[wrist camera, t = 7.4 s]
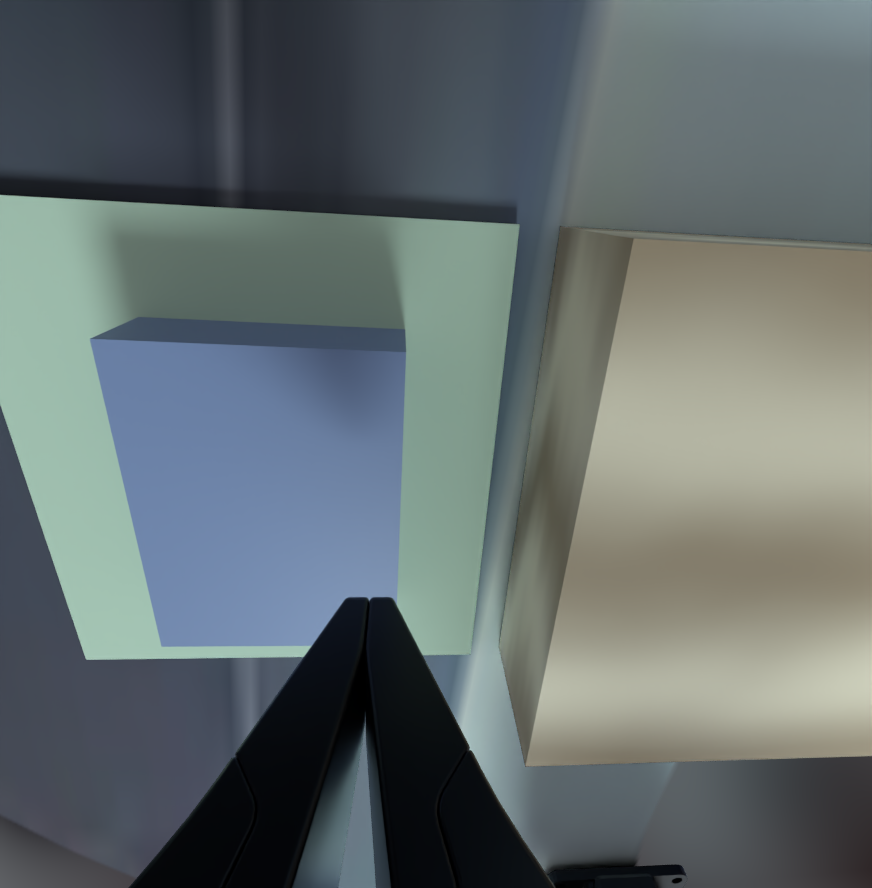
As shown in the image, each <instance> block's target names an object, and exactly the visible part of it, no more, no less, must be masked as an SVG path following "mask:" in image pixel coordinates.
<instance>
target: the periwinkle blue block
mask: <svg viewBox="0 0 872 888" xmlns="http://www.w3.org/2000/svg"><path fill="white" fill-rule="evenodd" d="M90 343H91V347H92V351H93V355H94V360H95V364H96V368H97V373H98V377H99V381H100V385H101V390H102V394H103V398H104V403H105V407H106V411H107V415H108V420H109V424H110V428H111V433H112V437H113V441H114V445H115V450H116V454H117V458H118V463H119V467H120V471H121V475H122V480H123V484H124V488H125V493H126V497H127V501H128V505H129V510H130V514H131V518H132V523H133V527H134V531H135V535H136V540H137V544H138V548H139V553H140V557H141V561H142V565H143V570H144V574H145V578H146V582H147V587H148V591H149V595H150V600H151V604H152V608H153V612H154V617H155V621H156V625H157V630H158V634H159V638H160V642H161V647H204V646H312V645H313V643H314V642H315V640H316V639H317V638H318V636H319V635H320V633H321V632H322V631H323V629H324V628H325V626H326V625H327V624H328V622H329V621H330V619H331V618H332V616H333V615H334V614H335V612H336V611H337V609H338V608H339V607H340V605H341V604H342V602H343V601H344V600H345V599H346V598H348V597H367V598H368V599H369V601H370V599H371V598H372V597H391V598H393V599H394V601H395V603H396V605H397V588H398V561H399V534H400V506H401V479H402V452H403V424H404V397H405V370H406V337H405V329H388V328H366V327H344V326H323V325H301V324H280V323H258V322H236V321H215V320H193V319H172V318H150V317H137V318H135V319H133V320H130V321H128V322H126V323H124V324H122V325H119V326H117V327H115V328H113V329H110V330H108V331H106V332H104V333H101V334H99V335H97V336H95V337H93V338H90Z"/></svg>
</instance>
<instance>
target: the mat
mask: <svg viewBox="0 0 872 888" xmlns="http://www.w3.org/2000/svg"><path fill="white" fill-rule="evenodd" d="M519 226H520V225H519V224H508V223H490V222H473V221H455V220H437V219H420V218H402V217H384V216H367V215H349V214H332V213H314V212H296V211H279V210H261V209H243V208H226V207H208V206H190V205H173V204H155V203H137V202H120V201H102V200H84V199H67V198H49V197H32V196H14V195H0V405H1V408H2V411H3V414H4V417H5V420H6V423H7V426H8V428H9V431H10V434H11V437H12V440H13V443H14V446H15V449H16V452H17V455H18V458H19V461H20V464H21V467H22V470H23V473H24V476H25V479H26V482H27V485H28V488H29V491H30V494H31V497H32V500H33V503H34V506H35V509H36V512H37V515H38V518H39V521H40V524H41V527H42V530H43V533H44V536H45V539H46V542H47V545H48V548H49V550H50V553H51V556H52V559H53V562H54V565H55V568H56V571H57V574H58V577H59V580H60V583H61V586H62V589H63V592H64V595H65V598H66V601H67V604H68V607H69V610H70V613H71V616H72V619H73V622H74V625H75V628H76V631H77V634H78V637H79V640H80V643H81V646H82V649H83V652H84V655H85V658H86V660H96V659H173V658H249V657H304V656H305V654H306V653H307V652H308V650H309V649H310V647H311V646H204V647H161V642H160V638H159V634H158V630H157V625H156V621H155V617H154V612H153V608H152V604H151V600H150V595H149V591H148V587H147V582H146V578H145V574H144V570H143V565H142V561H141V557H140V553H139V548H138V544H137V540H136V535H135V531H134V527H133V523H132V518H131V514H130V510H129V505H128V501H127V497H126V493H125V488H124V484H123V480H122V475H121V471H120V467H119V463H118V458H117V454H116V450H115V445H114V441H113V437H112V433H111V428H110V424H109V420H108V415H107V411H106V407H105V403H104V398H103V394H102V390H101V385H100V381H99V377H98V373H97V368H96V364H95V360H94V355H93V351H92V347H91V343H90V338H93V337H95V336H97V335H99V334H101V333H104V332H106V331H108V330H110V329H113V328H115V327H117V326H119V325H122V324H124V323H126V322H128V321H130V320H133V319H135V318H137V317H150V318H172V319H193V320H215V321H236V322H258V323H280V324H301V325H323V326H344V327H366V328H388V329H405V337H406V370H405V397H404V424H403V452H402V479H401V506H400V534H399V561H398V588H397V607H398V608H399V610H400V612H401V614H402V616H403V618H404V620H405V622H406V624H407V626H408V628H409V630H410V632H411V634H412V636H413V638H414V640H415V642H416V643H417V645H418V647H419V649H420V651H421V653H422V655H471V646H472V637H473V628H474V620H475V611H476V602H477V593H478V585H479V576H480V567H481V558H482V550H483V541H484V532H485V523H486V515H487V506H488V497H489V488H490V480H491V471H492V462H493V453H494V445H495V436H496V427H497V418H498V410H499V401H500V392H501V383H502V375H503V366H504V357H505V349H506V340H507V331H508V322H509V314H510V305H511V296H512V287H513V279H514V270H515V261H516V252H517V244H518V235H519Z"/></svg>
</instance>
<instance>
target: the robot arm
mask: <svg viewBox="0 0 872 888" xmlns="http://www.w3.org/2000/svg"><path fill="white" fill-rule="evenodd" d="M365 716H366V746H367V760H368V775H369V790H370V805H371V820H372V834H373V849H374V864H375V879H376V888H684V886H685V883H686V882H687V879H688V878H687V876H686V873H685V871H684V868H683V867H682V866H681V865H655V866H635V867H614V868H594V869H573V870H557V871H554V872H551V873H550V874H549V875H548V876H547V874H546V873H545V871H544V870H543V868H542V867H541V865H540V864H539V862H538V861H537V859H536V858H535V856H534V855H533V854H532V852H531V851H530V849H529V848H528V846H527V845H526V843H525V842H524V840H523V839H522V837H521V835H520V834H519V832H518V831H517V829H516V828H515V826H514V824H513V823H512V821H511V820H510V818H509V817H508V815H507V813H506V812H505V810H504V809H503V807H502V805H501V804H500V802H499V800H498V798H497V797H496V795H495V793H494V791H493V789H492V788H491V786H490V784H489V782H488V780H487V779H486V777H485V775H484V773H483V771H482V769H481V767H480V766H479V764H478V762H477V760H476V758H475V756H474V754H473V752H472V751H471V750H469V749H470V747H469V745H468V743H467V741H466V739H465V737H464V735H463V733H462V731H461V729H460V727H459V725H458V723H457V721H456V719H455V717H454V715H453V714H452V712H451V710H450V708H449V706H448V704H447V702H446V700H445V698H444V696H443V694H442V692H441V690H440V688H439V686H438V684H437V682H436V680H435V678H434V677H433V675H432V673H431V671H430V669H429V667H428V665H427V663H426V661H425V659H424V657H423V655H422V653H421V651H420V649H419V647H418V645H417V643H416V642H415V640H414V638H413V636H412V634H411V632H410V630H409V628H408V626H407V624H406V622H405V620H404V618H403V616H402V614H401V612H400V610H399V608H398V607H397V605H396V603H395V601H394V599H393V598H391V597H372V598H371V599H370V601H369V599H368V598H367V597H348V598H346V599H345V600H344V601H343V602H342V604H341V605H340V607H339V608H338V609H337V611H336V612H335V614H334V615H333V616H332V618H331V619H330V621H329V622H328V624H327V625H326V626H325V628H324V629H323V631H322V632H321V633H320V635H319V636H318V638H317V639H316V640H315V642H314V643H313V645H312V646H311V647H310V649H309V650H308V652H307V653H306V654H305V656H304V657H303V659H302V660H301V662H300V663H299V664H298V666H297V667H296V669H295V670H294V671H293V673H292V674H291V676H290V677H289V678H288V680H287V681H286V683H285V684H284V685H283V687H282V688H281V690H280V691H279V692H278V694H277V695H276V697H275V698H274V700H273V701H272V702H271V704H270V705H269V707H268V708H267V709H266V711H265V712H264V714H263V715H262V716H261V718H260V719H259V721H258V722H257V723H256V725H255V726H254V728H253V729H252V730H251V732H250V733H249V735H248V736H247V738H246V739H245V740H244V742H243V743H242V745H241V746H240V747H239V749H238V750H237V752H236V754H235V756H236V757H233V758H231V760H230V761H229V762H228V764H227V765H226V767H225V768H224V770H223V771H222V772H221V774H220V775H219V777H218V778H217V779H216V781H215V782H214V784H213V785H212V786H211V788H210V789H209V790H208V792H207V793H206V794H205V796H204V797H203V798H202V800H201V801H200V802H199V804H198V805H197V806H196V808H195V809H194V810H193V812H192V813H191V814H190V815H189V817H188V818H187V819H186V820H185V822H184V823H183V824H182V825H181V826H180V828H179V829H178V830H177V831H176V832H175V834H174V835H173V836H172V837H171V838H170V840H169V841H168V842H167V843H166V845H165V846H164V847H163V848H162V849H161V851H160V852H159V853H158V854H157V855H156V857H155V858H154V859H153V860H152V861H151V862H150V864H149V865H148V866H147V867H146V868H145V869H144V870H143V872H142V873H141V874H140V875H139V876H138V877H137V879H136V880H135V881H134V882H133V883H132V884H131V886H130V887H129V888H338V886H339V880H340V874H341V868H342V862H343V856H344V850H345V845H346V839H347V833H348V827H349V821H350V815H351V809H352V803H353V797H354V791H355V785H356V779H357V773H358V767H359V761H360V755H361V749H362V743H363V736H364V729H365Z"/></svg>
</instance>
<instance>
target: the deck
mask: <svg viewBox="0 0 872 888" xmlns="http://www.w3.org/2000/svg"><path fill="white" fill-rule="evenodd" d="M499 650H500V654H501V659H502V663H503V668H504V672H505V677H506V681H507V686H508V690H509V695H510V699H511V704H512V708H513V713H514V717H515V722H516V726H517V731H518V735H519V740H520V744H521V749H522V753H523V758H524V762H525V767H529V766H561V765H593V764H625V763H657V762H688V761H720V760H752V759H783V758H815V757H846V756H847V757H848V756H872V244H861V243H843V242H826V241H808V240H790V239H773V238H755V237H737V236H720V235H702V234H685V233H667V232H649V231H632V230H614V229H596V228H579V227H561V226H560V233H559V240H558V246H557V253H556V260H555V267H554V274H553V281H552V287H551V294H550V301H549V308H548V315H547V322H546V328H545V335H544V342H543V349H542V356H541V363H540V369H539V376H538V383H537V390H536V397H535V404H534V411H533V417H532V424H531V431H530V438H529V445H528V452H527V458H526V465H525V472H524V479H523V486H522V493H521V499H520V506H519V513H518V520H517V527H516V534H515V540H514V547H513V554H512V561H511V568H510V575H509V582H508V588H507V595H506V602H505V609H504V616H503V623H502V629H501V636H500V643H499Z"/></svg>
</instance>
